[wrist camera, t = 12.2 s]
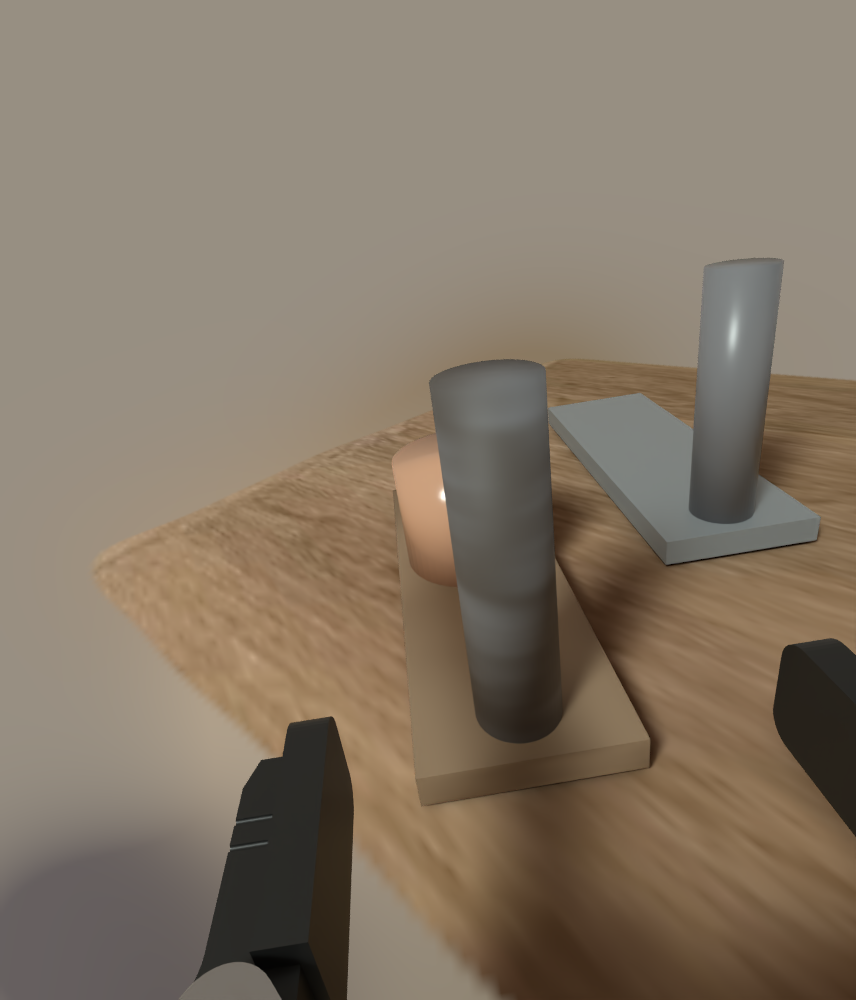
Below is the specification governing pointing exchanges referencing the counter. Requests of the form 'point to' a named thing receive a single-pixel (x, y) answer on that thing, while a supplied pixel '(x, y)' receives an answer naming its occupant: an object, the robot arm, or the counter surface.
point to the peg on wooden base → (504, 611)
